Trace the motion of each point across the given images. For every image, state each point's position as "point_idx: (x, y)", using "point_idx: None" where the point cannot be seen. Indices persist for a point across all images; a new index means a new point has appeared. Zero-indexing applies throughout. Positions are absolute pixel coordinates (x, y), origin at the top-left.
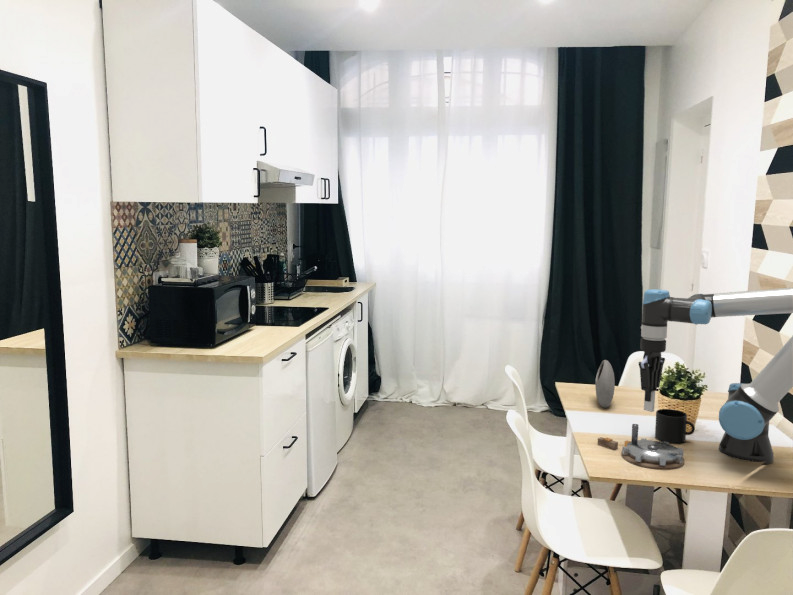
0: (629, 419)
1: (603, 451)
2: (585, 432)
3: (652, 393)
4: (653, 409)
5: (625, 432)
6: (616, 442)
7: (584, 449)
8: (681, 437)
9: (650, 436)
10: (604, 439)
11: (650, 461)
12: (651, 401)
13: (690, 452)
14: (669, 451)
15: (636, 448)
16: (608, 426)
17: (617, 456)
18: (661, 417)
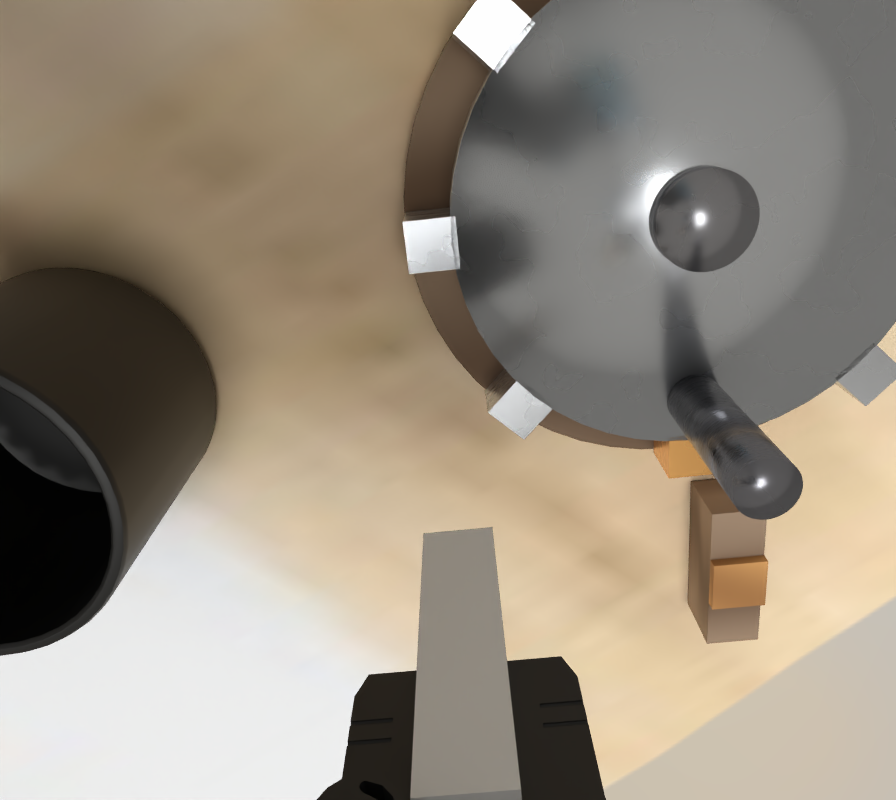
0: (15, 787)
1: (811, 513)
2: None
3: (519, 768)
4: (445, 547)
5: (291, 655)
6: (736, 513)
7: (872, 605)
8: (71, 282)
9: (192, 511)
10: (764, 595)
11: None
12: (502, 648)
13: (226, 76)
14: (659, 51)
15: (822, 306)
16: (289, 776)
17: (839, 395)
18: (137, 520)
